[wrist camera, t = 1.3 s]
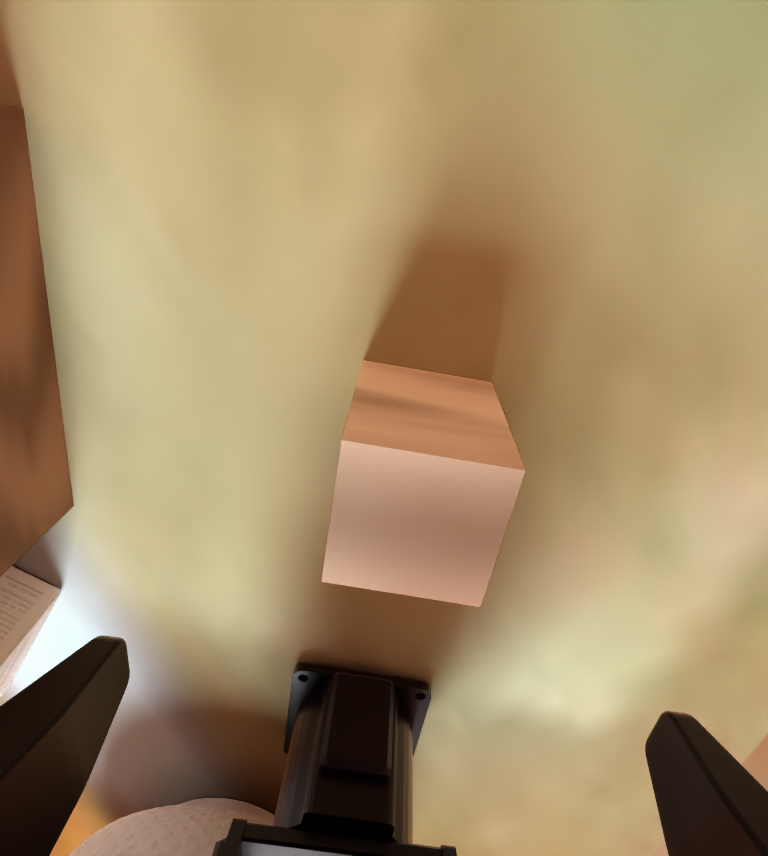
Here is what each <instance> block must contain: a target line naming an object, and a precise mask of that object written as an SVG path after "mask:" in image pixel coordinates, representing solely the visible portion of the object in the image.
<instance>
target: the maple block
mask: <svg viewBox="0 0 768 856" xmlns="http://www.w3.org/2000/svg"><path fill="white" fill-rule="evenodd" d="M525 471H526V470H525V468H524V465H523V462H522V460H521V457H520V455H519V452H518V449H517V447H516V444H515V441H514V439H513V436H512V434H511V431H510V428H509V426H508V423H507V421H506V418H505V415H504V413H503V410H502V407H501V405H500V402H499V400H498V397H497V394H496V392H495V389H494V386H493V384H492V382H489V381H483V380H477V379H471V378H465V377H459V376H454V375H448V374H442V373H436V372H430V371H424V370H419V369H413V368H407V367H401V366H395V365H389V364H384V363H378V362H372V361H366V360H363V362H362V365H361V369H360V373H359V377H358V380H357V384H356V388H355V392H354V395H353V399H352V403H351V406H350V410H349V414H348V418H347V421H346V425H345V429H344V432H343V436H342V440H341V447H340V454H339V461H338V468H337V475H336V482H335V489H334V496H333V503H332V510H331V517H330V524H329V531H328V538H327V545H326V552H325V559H324V566H323V573H322V581H321V582H326V583H332V584H339V585H345V586H351V587H357V588H364V589H370V590H376V591H382V592H389V593H395V594H401V595H407V596H414V597H420V598H426V599H433V600H439V601H445V602H451V603H458V604H464V605H470V606H476V607H481V604H482V601H483V598H484V595H485V592H486V589H487V586H488V583H489V580H490V577H491V574H492V571H493V568H494V565H495V562H496V559H497V556H498V553H499V550H500V547H501V544H502V541H503V538H504V535H505V532H506V529H507V526H508V523H509V520H510V517H511V514H512V511H513V508H514V505H515V502H516V499H517V496H518V493H519V490H520V486H521V483H522V480H523V477H524V474H525Z"/></svg>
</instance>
